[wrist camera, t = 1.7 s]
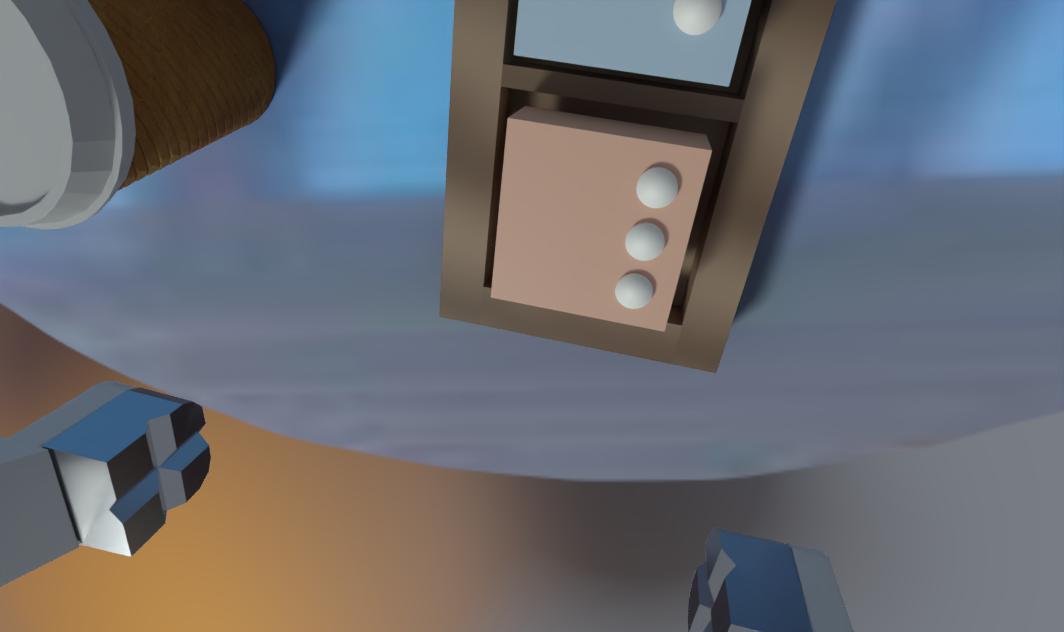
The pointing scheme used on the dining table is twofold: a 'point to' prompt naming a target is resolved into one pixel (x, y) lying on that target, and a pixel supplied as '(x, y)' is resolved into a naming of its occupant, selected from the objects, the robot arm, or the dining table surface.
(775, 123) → the key frame
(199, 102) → the disposable coffee cup
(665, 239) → the tile three
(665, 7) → the tile two
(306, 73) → the dining table surface
